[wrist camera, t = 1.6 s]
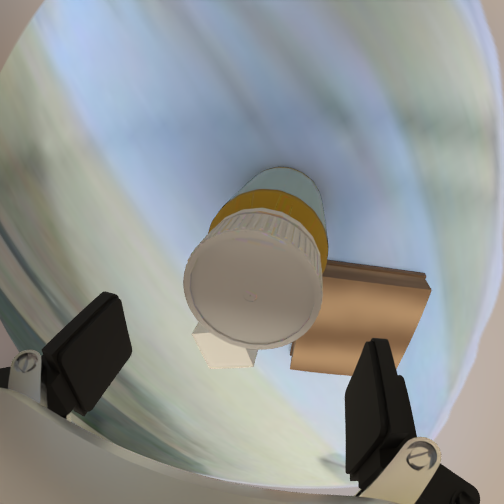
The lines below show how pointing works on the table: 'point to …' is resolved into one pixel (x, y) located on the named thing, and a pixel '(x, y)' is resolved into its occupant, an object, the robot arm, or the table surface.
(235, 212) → the bottle
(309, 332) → the plinth
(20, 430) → the robot arm
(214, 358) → the stone cube
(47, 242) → the table surface
